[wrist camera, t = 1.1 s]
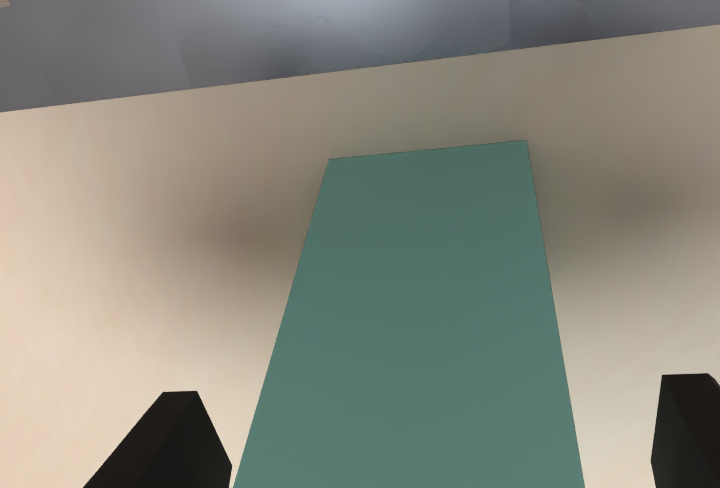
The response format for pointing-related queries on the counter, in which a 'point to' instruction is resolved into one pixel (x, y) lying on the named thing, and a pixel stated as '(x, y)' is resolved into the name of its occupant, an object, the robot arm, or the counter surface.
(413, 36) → the steel rail
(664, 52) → the counter surface
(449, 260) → the teal peg
